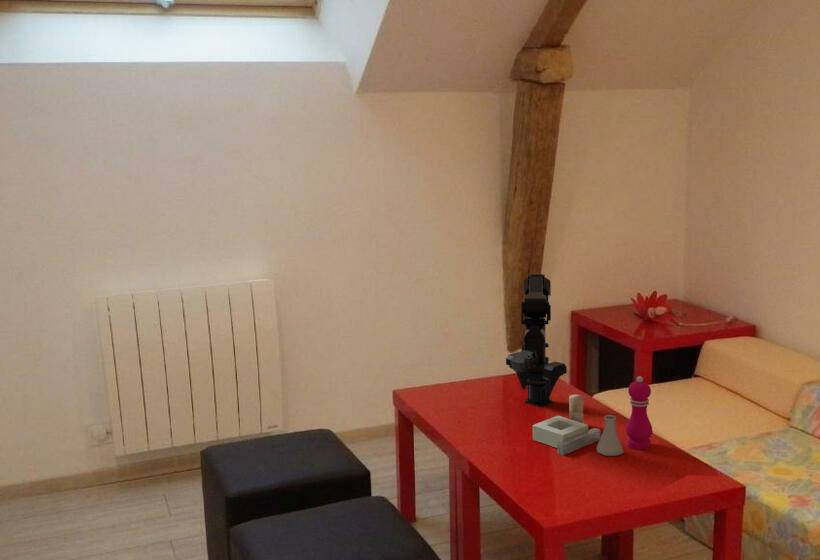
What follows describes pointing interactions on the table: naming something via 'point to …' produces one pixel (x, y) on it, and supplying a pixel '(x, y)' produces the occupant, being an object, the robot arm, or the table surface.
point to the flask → (609, 439)
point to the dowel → (576, 408)
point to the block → (557, 430)
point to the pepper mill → (639, 416)
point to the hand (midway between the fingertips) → (535, 392)
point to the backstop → (578, 441)
